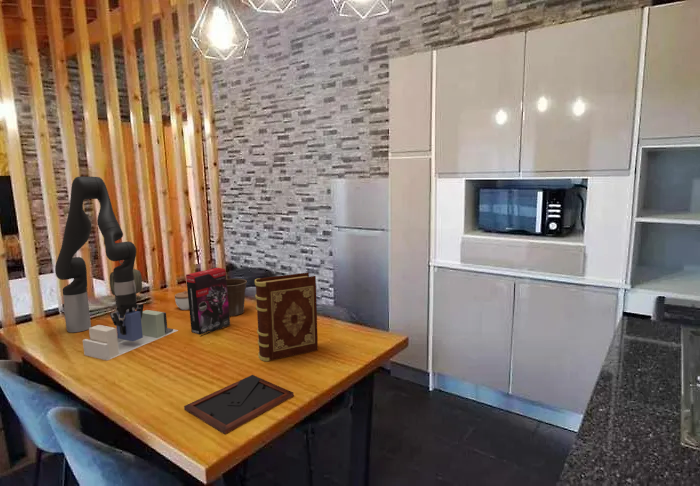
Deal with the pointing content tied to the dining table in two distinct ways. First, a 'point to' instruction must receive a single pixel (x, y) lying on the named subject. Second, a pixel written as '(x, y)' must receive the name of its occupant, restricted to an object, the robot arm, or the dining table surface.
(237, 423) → the picture frame
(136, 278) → the tabletop clock
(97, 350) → the shelf board
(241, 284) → the plant pot
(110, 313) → the robot arm
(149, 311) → the sage book
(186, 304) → the lidded jar
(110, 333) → the ivory book
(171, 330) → the bookend
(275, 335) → the decorative book
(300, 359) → the dining table surface
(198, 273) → the graphics card box
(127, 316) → the navy book
